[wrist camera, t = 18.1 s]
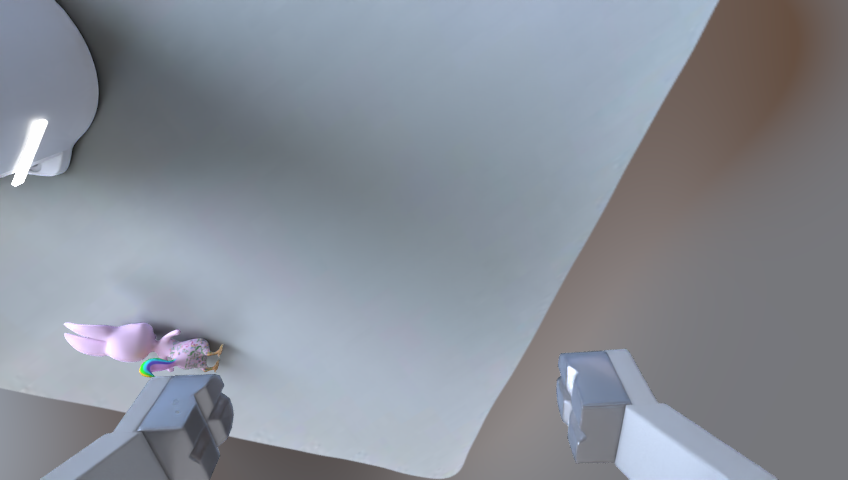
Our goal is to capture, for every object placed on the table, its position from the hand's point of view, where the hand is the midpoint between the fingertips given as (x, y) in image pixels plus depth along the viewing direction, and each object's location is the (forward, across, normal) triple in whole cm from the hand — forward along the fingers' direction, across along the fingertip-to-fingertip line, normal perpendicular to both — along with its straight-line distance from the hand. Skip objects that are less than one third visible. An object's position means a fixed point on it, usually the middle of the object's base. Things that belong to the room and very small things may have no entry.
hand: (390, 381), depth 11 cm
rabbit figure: (+31, -30, -23) cm, 49 cm away
